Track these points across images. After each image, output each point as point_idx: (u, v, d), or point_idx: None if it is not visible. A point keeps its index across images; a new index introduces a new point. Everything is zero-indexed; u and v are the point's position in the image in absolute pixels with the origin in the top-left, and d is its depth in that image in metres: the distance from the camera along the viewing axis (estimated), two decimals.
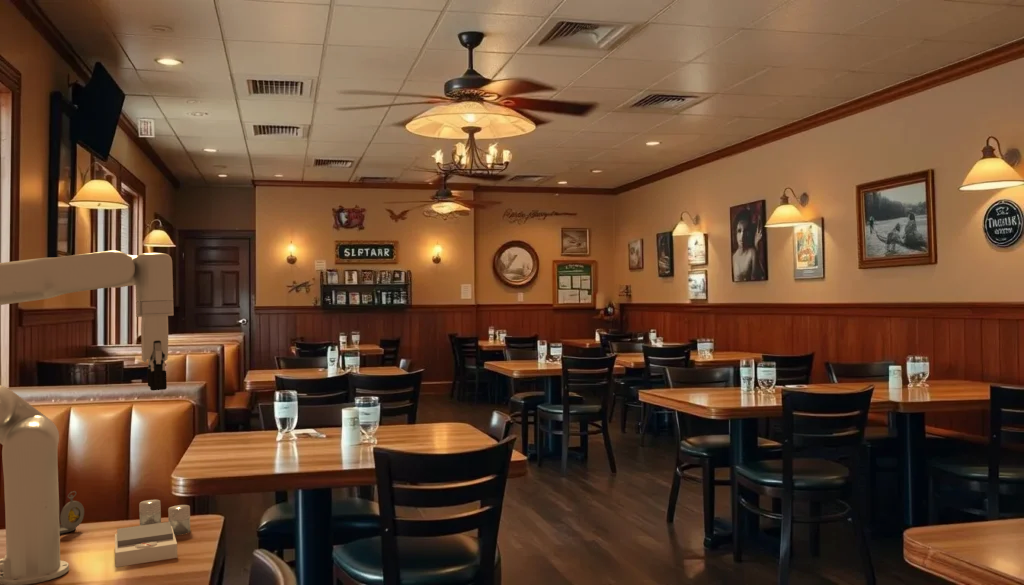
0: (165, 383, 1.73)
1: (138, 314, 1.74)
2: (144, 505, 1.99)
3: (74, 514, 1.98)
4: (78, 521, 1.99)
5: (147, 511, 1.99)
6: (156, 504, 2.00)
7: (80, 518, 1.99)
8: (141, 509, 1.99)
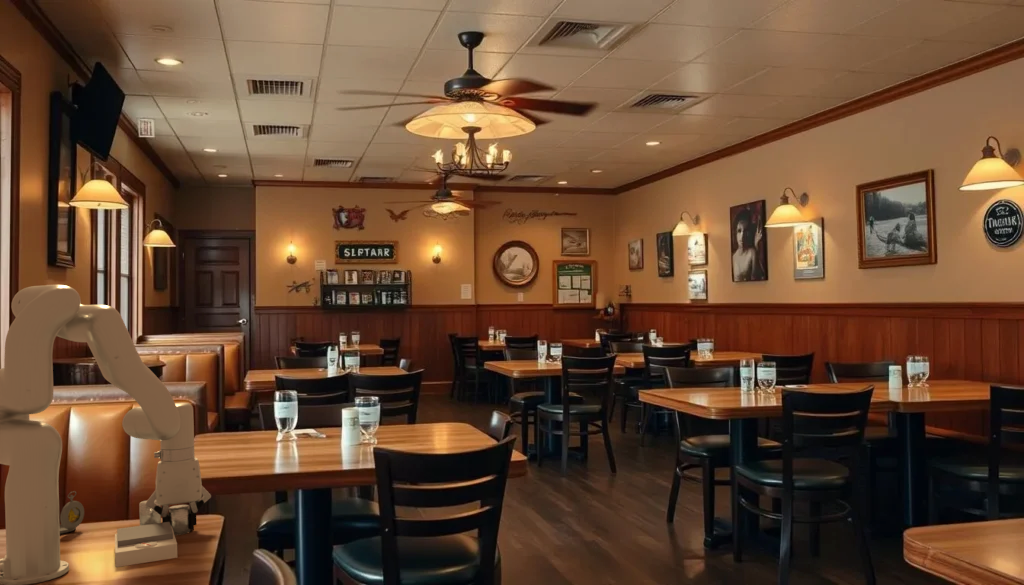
0: None
1: (186, 460, 1.93)
2: (144, 505, 1.99)
3: (74, 514, 1.98)
4: (78, 521, 1.99)
5: (147, 511, 1.99)
6: None
7: (80, 518, 1.99)
8: (141, 509, 1.99)
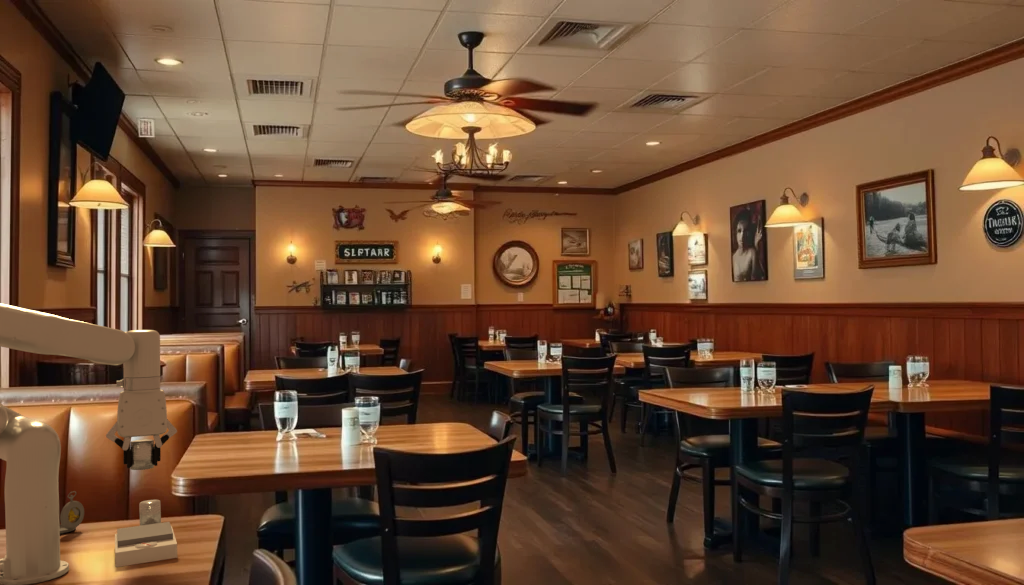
0: None
1: (150, 389, 1.80)
2: (144, 505, 1.99)
3: (74, 514, 1.98)
4: (78, 521, 1.99)
5: (147, 511, 1.99)
6: (156, 504, 2.00)
7: (80, 518, 1.99)
8: (141, 509, 1.99)
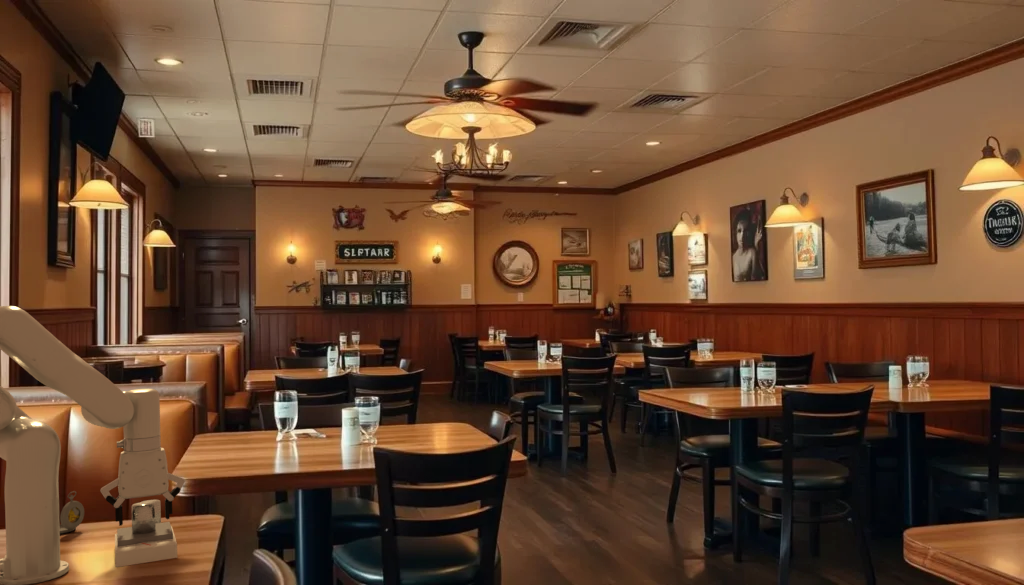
0: None
1: (151, 450, 1.79)
2: None
3: (74, 514, 1.98)
4: (78, 521, 1.99)
5: None
6: (156, 504, 2.00)
7: (80, 518, 1.99)
8: None
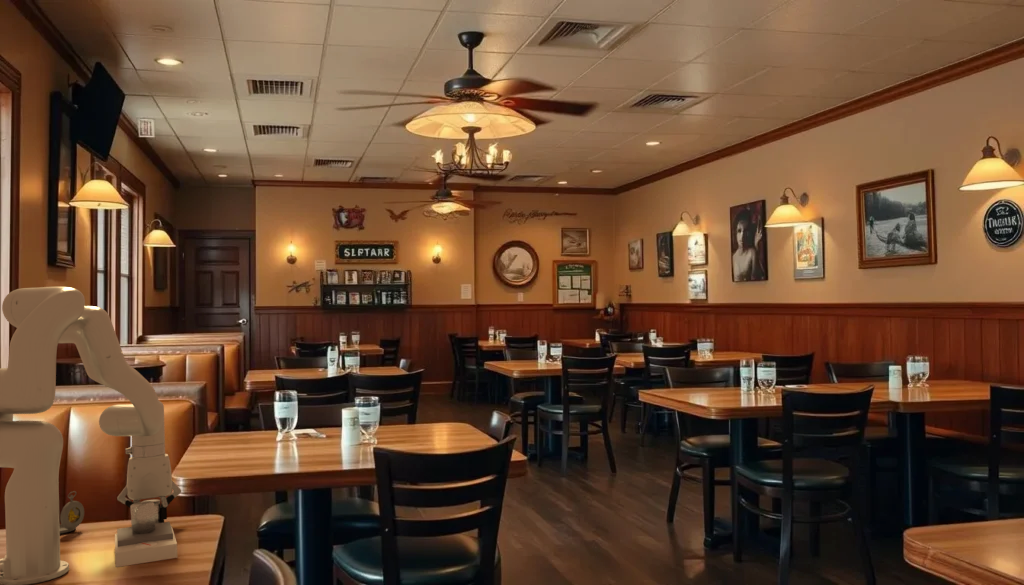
0: None
1: (156, 456, 1.99)
2: None
3: (74, 514, 1.98)
4: (78, 521, 1.99)
5: None
6: (156, 504, 2.00)
7: (80, 518, 1.99)
8: None
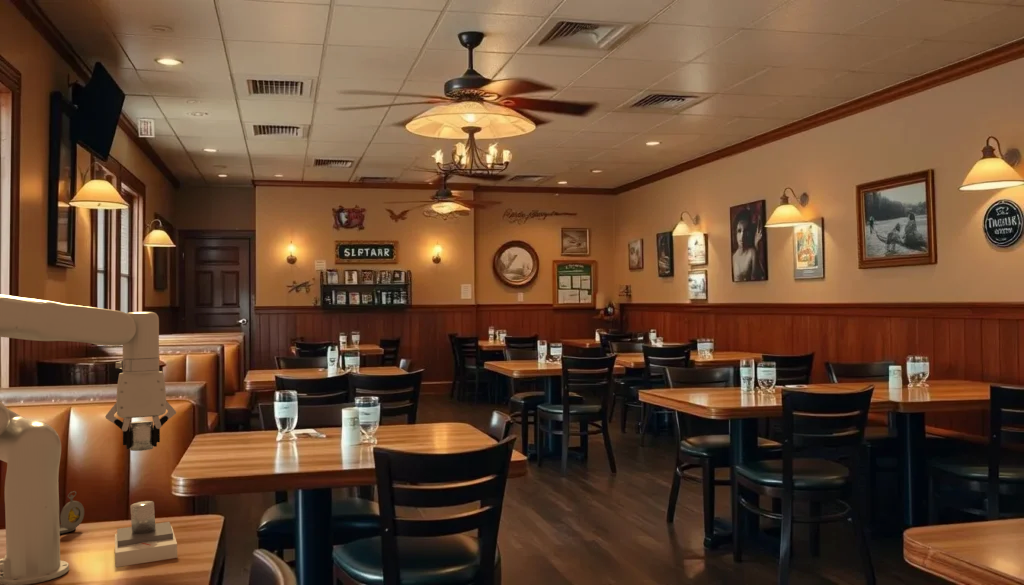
0: None
1: (150, 370, 1.81)
2: (135, 424, 1.81)
3: (74, 514, 1.98)
4: (78, 521, 1.99)
5: (138, 431, 1.81)
6: (148, 424, 1.82)
7: (80, 518, 1.99)
8: (132, 429, 1.81)
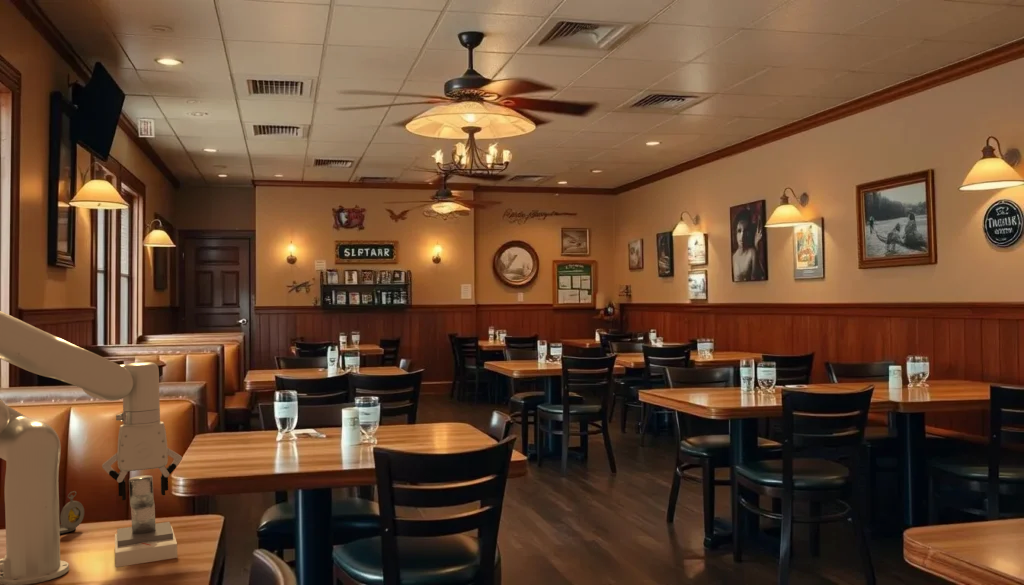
0: None
1: (150, 423, 1.79)
2: (134, 481, 1.79)
3: (74, 514, 1.98)
4: (78, 521, 1.99)
5: (138, 488, 1.79)
6: (148, 480, 1.80)
7: (80, 518, 1.99)
8: (131, 486, 1.79)
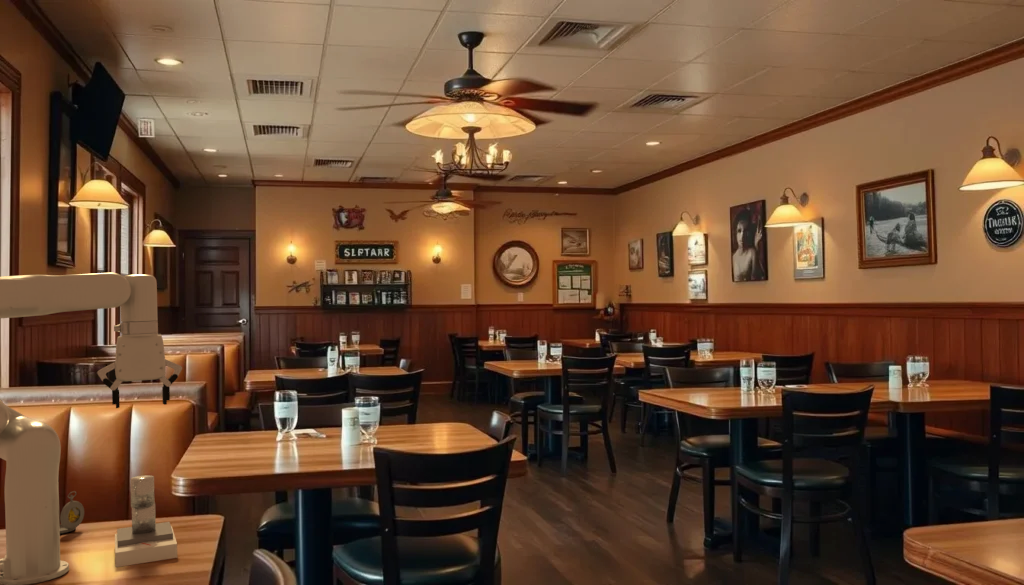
0: None
1: (148, 333, 1.80)
2: (136, 481, 1.79)
3: (74, 514, 1.98)
4: (78, 521, 1.99)
5: (139, 488, 1.79)
6: (149, 480, 1.80)
7: (80, 518, 1.99)
8: (132, 485, 1.79)
